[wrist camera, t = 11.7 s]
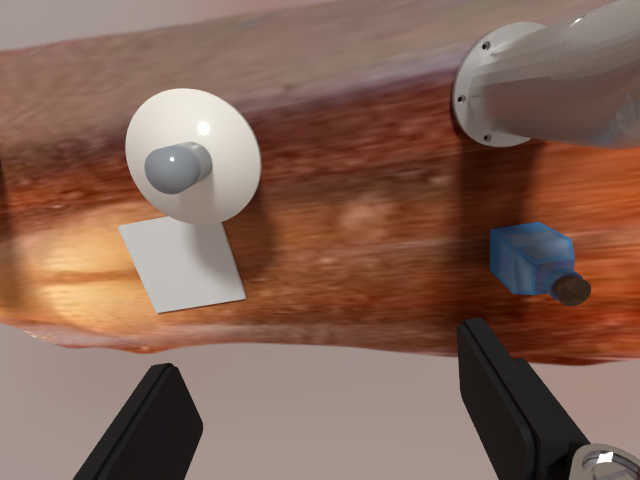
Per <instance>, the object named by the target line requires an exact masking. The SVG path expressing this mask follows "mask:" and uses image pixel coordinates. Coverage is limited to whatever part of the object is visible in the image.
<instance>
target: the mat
mask: <svg viewBox="0 0 640 480" xmlns="http://www.w3.org/2000/svg"><path fill="white" fill-rule="evenodd" d="M118 229H119V231H120V234H121V236H122V238H123V240H124V243H125V245H126V247H127V249H128V251H129V254H130V256H131V258H132V260H133V263H134V265H135V267H136V269H137V271H138V274H139V276H140V278H141V280H142V283H143V285H144V287H145V289H146V291H147V294H148V296H149V298H150V300H151V303H152V305H153V307H154V309H155V311H156V313H161V312H167V311H173V310H179V309H186V308H192V307H198V306H204V305H210V304H216V303H223V302H229V301H235V300H241V299H246V294H245V291H244V288H243V285H242V282H241V279H240V276H239V273H238V270H237V267H236V264H235V260H234V257H233V254H232V251H231V248H230V245H229V242H228V239H227V236H226V233H225V230H224V227H223V224H222V222H220V223H216V224H211V225H194V224H188V223H184V222H181V221H178V220H176V219H173V218H171V217H169V216H167V217H162V218H157V219H152V220H147V221H141V222H136V223H131V224H126V225H121V226H118Z"/></svg>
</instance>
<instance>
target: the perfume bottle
mask: <svg viewBox="0 0 640 480" xmlns="http://www.w3.org/2000/svg"><path fill="white" fill-rule="evenodd" d="M574 261H575V257H574V252H573V247H572V242H571V239H570V238H568V237H566V236H564V235H562V234H561V233H559V232H557V231H555V230H553V229H551V228H550V227H548V226H546V225H544V224H542V223H540V222H534V223H527V224H521V225H514V226H508V227H501V228H495V229H490V271H491V272H492V273H493V274H494V275H495V276H496V277H497V278H498V279H499V280H500V281H501V282H502V283H503V284H504V285H505V286H506V287H507V288H508V289H509V290H510V291H511V292H512V293H513V294H526V295H539V294H547V293H548V294H549V295H550V296H551V297H553V298H554V299H555V300H559V301H560V302H561V303H562V304H563V305H566V306H575V305H579V304H581V303H583V302H584V301H585V300H586V299H587V298H588V297H589V295H590V293H591V286H590V284H589V283H588V282H587V281H586V280H583V278H582V276H581V275H579V274H578V273H576V272H575V271H573V270H574Z"/></svg>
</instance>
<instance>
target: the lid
mask: <svg viewBox="0 0 640 480" xmlns="http://www.w3.org/2000/svg"><path fill="white" fill-rule="evenodd" d="M126 158H127V163H128V167H129V170H130V173H131V175H132V177H133V180H134V182H135V184H136V185H137V187H138V188H139V190H140V191H141V193H142V194H143V195H144V197H145V198H146V199H147V200H148V201H149V202H150V203H151V204H152V205H153V206H154V207H156V208H157V209H158V210H159V211H161V212H162V213H164V214H165V215H167V216H169V217H171V218H173V219H176V220H178V221H181V222H184V223H188V224H194V225H211V224H216V223H220V222H223V221H226V220H228V219H230V218H232V217H233V216H235V215H236V214H238V213H239V212H240V211H241V210H242V209H243V208H244V207H245V206H246V205H247V204H248V203H249V201H250V200H251V199H252V197H253V196H254V194H255V192H256V190H257V188H258V185H259V182H260V177H261V170H262V159H261V152H260V147H259V144H258V141H257V138H256V136H255V134H254V132H253V130H252V128H251V126H250V125H249V123H248V122H247V120H246V119H245V118H244V117H243V115H242V114H241V113H240V112H239V111H238V110H237V109H236V108H235V107H233V106H232V105H231V104H230V103H228V102H227V101H225V100H223V99H222V98H220V97H218V96H216V95H214V94H211V93H208V92H205V91H201V90H194V89H172V90H167V91H164V92H161V93H159V94H157V95H155V96H153V97H151V98H150V99H148V100H147V101H146V102H145V103H144V104H143V105H142V106H141V107H140V108H139V109H138V110H137V112H136V113H135V114H134V116H133V118H132V120H131V122H130V125H129V128H128V131H127V136H126Z"/></svg>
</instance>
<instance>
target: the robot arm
mask: <svg viewBox="0 0 640 480" xmlns="http://www.w3.org/2000/svg"><path fill="white" fill-rule="evenodd" d="M482 45H485V48H484V50H483V49H482ZM459 97H460V98H461V101H460V102H458V98H459ZM452 107H453V112H454V116H455V118H456V121H457V123H458V125H459V126H460V128H461V129H462V131H463V132H464V133H465V134H466V135H467V136H469V137H470V138H471V139H473V140H474V141H476V142H478V143H480V144H483V145H487V146H492V147H510V146H515V145H519V144H521V143H524V142H527V141H529V140H530V139H532V138H534V139H540V140H547V141H554V142H560V143H567V144H573V145H580V146H588V147H595V148H602V149H630V148H636V147H640V0H617V1H615V2H613V3H610V4H607V5H605V6H602V7H599V8H597V9H594V10H591V11H589V12H586V13H583V14H581V15H578V16H575V17H573V18H570V19H567V20H565V21H562V22H559V23H557V24H554V25H551V26H548V27H547V26H544V25H541V24H538V23H533V22H519V23H512V24H509V25H506V26H503V27H500V28H498V29H496V30H494V31H492V32H491V33H489V34H488V35H486V36H485V37H483V38H482V39H481V40H479V41H478V42H477V43H476V44H475V45H474V46H473V47H472V48H471V49H470V51H469V52H468V53H467V55H466V56H465V57H464V59H463V61H462V63H461V64H460V66H459V68H458V70H457V73H456V76H455V79H454V83H453V88H452ZM485 135H486V139H484V136H485ZM457 344H458V361H459V378H460V391H461V396H462V399H463V402H464V404H465V406H466V409H467V411H468V413H469V415H470V417H471V420H472V422H473V424H474V426H475V428H476V430H477V433H478V435H479V437H480V439H481V442H482V443H483V446H484V448H485V450H486V453H487V455H488V457H489V459H490V461H491V463H492V465H493V468H494V470H495V472H496V474H497V477H498V479H499V480H640V460H639V459H638V458H636V457H635V456H633V455H631V454H629V453H627V452H625V451H623V450H621V449H619V448H616V447H612V446H609V445H604V444H591V443H590V442H589V441H588V440H587V438H586V437H585V435H584V434H583V433H582V432H581V430H580V429H579V428H578V427H577V425H576V424H575V423H574V421H573V420H572V419H571V417H570V416H569V415H568V414H567V412H566V411H565V410H564V408H563V407H562V406H561V405H560V403H559V402H558V401H557V399H556V398H555V397H554V396H553V395H552V393H551V392H550V391H549V389H548V388H547V387H546V385H545V384H544V383H543V381H542V380H541V379H540V378H539V376H538V375H537V374H536V373H535V371H534V370H533V369H532V367H531V366H530V365H529V364H528V362H527V361H526V360H525V359H523V358H516V359H512V357H511V356H510V354H509V353H508V352H507V350H506V349H505V348H504V346H503V345H502V344H501V342H500V341H499V339H498V338H497V337H496V335H495V334H494V333H493V331H492V330H491V328H490V327H489V326H488V324H487V323H486V322H485V320H484V319H483V318H474V319H467V320H463V321H462V325H459V326H457ZM202 432H203V422H202V420H201V418H200V415H199V413H198V411H197V409H196V407H195V404H194V402H193V400H192V398H191V396H190V393H189V391H188V389H187V387H186V385H185V382H184V380H183V378H182V376H181V374H180V371H179V369H178V368H177V367H174V366H173V364H171V363H164V364H158V365H153V366H151V367H150V369H149V370H148V371H147V373H146V374H145V376H144V377H143V379H142V380H141V381H140V383H139V384H138V386H137V387H136V389H135V390H134V392H133V393H132V395H131V396H130V397H129V399H128V400H127V402H126V403H125V405H124V406H123V407H122V409H121V411H120V412H119V413H118V415H117V416H116V418H115V419H114V421H113V422H112V423H111V425H110V426H109V428H108V429H107V431H106V432H105V433H104V435H103V436H102V438H101V439H100V441H99V442H98V444H97V445H96V446H95V448H94V450H93V451H92V452H91V454H90V455H89V457H88V458H87V459H86V461H85V462H84V464H83V465H82V467H81V468H80V470H79V471H78V472H77V474H76V475H75V477H74V478H73V480H184V479H185V476H186V473H187V471H188V469H189V466H190V463H191V461H192V458H193V456H194V453H195V451H196V448H197V446H198V443H199V440H200V438H201V435H202Z"/></svg>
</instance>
